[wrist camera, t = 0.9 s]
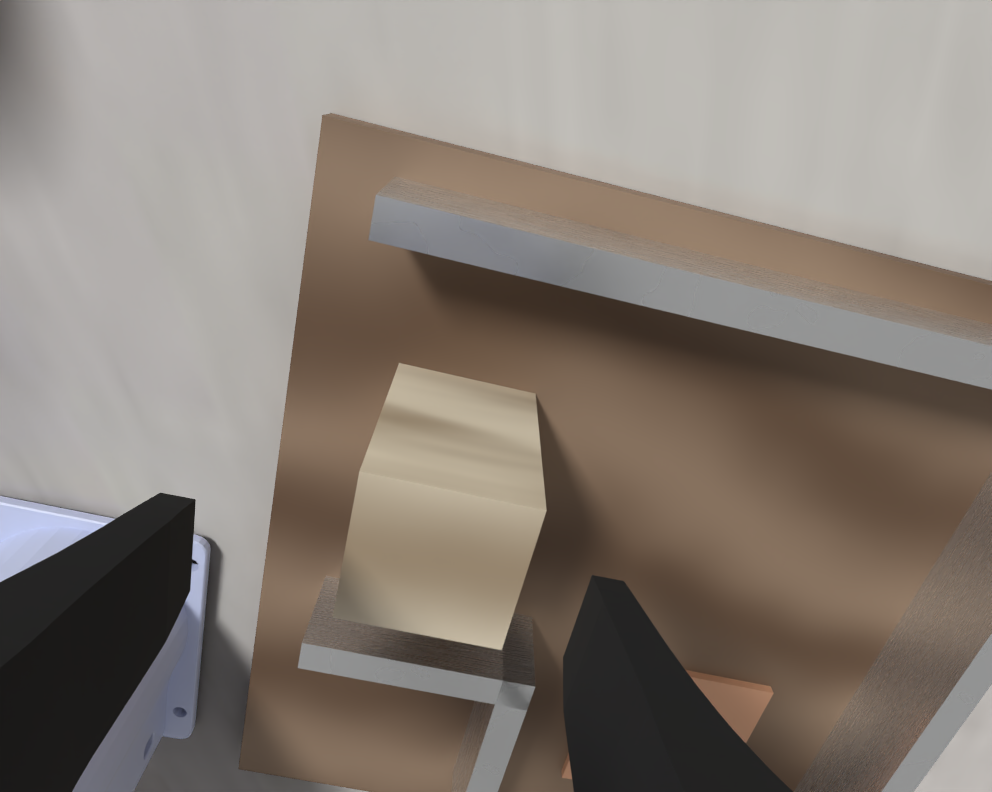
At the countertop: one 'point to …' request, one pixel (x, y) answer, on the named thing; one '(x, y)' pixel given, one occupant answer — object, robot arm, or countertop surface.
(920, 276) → the walnut board
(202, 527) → the countertop surface
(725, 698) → the pad
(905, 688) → the channel walls
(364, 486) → the maple block
